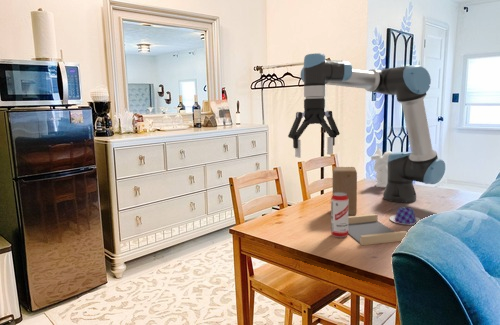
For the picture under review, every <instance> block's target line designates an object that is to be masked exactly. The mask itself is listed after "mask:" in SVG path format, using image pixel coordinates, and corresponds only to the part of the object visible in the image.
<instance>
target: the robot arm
mask: <svg viewBox="0 0 500 325" xmlns="http://www.w3.org/2000/svg"><path fill="white" fill-rule="evenodd" d="M300 79H301V81H302V82H303V97H304V99H303V108H304V110H303V112H301V111H297V112H295V118H294V120H293V124H292V126H291V128H290V131H289V132H288V135H287V137H288V138H289V139H292V140H293V142H292V143H293V144H292V147H293V149H294V150H295V151H294V153H295V155H294V157H295V158H299V159H300V158H302V157H301V155H302V154H301V151H302V150H301V145H302V144H301V143H302V142H301V139H300V137H301V136H302V134H303V133H304V132H305V131H306V129H307V128H308V126H309V125H315V124H319V125H320V126H321V127H322V129H323V130H324V131H325V133H326V134H327V135H328V136H327V138H326V139H327V140H326V141H327V143H326V144H327V145H326V146H327V147H326V148H327V149H326V150H327V152H326V154H327V155H330V156H333V155H334V146H335V145H336V144H335V142H336V139H335V138H337V136H339V135H340V134H341V133H340V130H339V128H338V126H337V123H336V122H335V119H334V117H333V111H332V110H326V111H325V108H326V99H325V97H326V86H325V85H327V86H328V85H329V86H336V87H337V86H339V87H346V88H347V87H348V88H356V89H363V90H364V89H365V90H366V91H367V92H371V93H378V94H384V95H389V96H396V101H397V102H398V103H400V104H401V106H402V113H403V116H404V120H405V121H404V122H405V126H406V131H407V136H408V142H409V146H410V150H411V151H401V152H393V153H392V154H390V155H389V156H388V180H387V185H386V187H384V188H385V189H384V191H383V197H382V198H383V199H384V200H385V201H388V202H393V203H394V202H395V203H411V202H415V201H417V193H416V190H415V187H414V186H415V185H414V181H415V182H416V183H417V182H418V183H423V184H425V185H436V184H438V183H439V182H440V181H441V180H442V179H443V177H444V175H445V172H446V163H445V161H444V160H443V159H441V158H439V157H438V153H437V151H436V150H434V149H433V147H432V145H433V144H432V139H431V135H430V129H429V123H428V118H427V113H426V112H427V111H426V108H425V102H424V99H425V98H426V96H427V92H428V91H429V90H430V87H431V86H430V85H431V80H432V79H431V76H430V73H429V71H428V70H427V68H426V67H424V66H422V65H419V64H418V65H416V64H415V65H414V64H413V65H404V66H399V67H398V66H396V67H390V68H383V69H375V68H374V69H373V68H372V69H369V70H362V69H356V68H353V65H352V64H351V62H349V61H346V60H343V59H342V60H329V59H328V60H327V59H326V55H325V54H324V53H319V52H318V53H308V54H306V55H304V58H303V67H302V69H301V70H300ZM324 117H326V120H327V121H326V120H325V118H324ZM303 118H304V119H303ZM302 119H303V121H302ZM327 122H328V123H327ZM300 124H301V125H300Z"/></svg>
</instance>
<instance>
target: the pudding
mask: <svg viewBox="0 0 500 325" xmlns="http://www.w3.org/2000/svg"><path fill="white" fill-rule="evenodd" d="M389 220H390V221H391V222H394V223H396V224H400V225H403V224H404V225H410V226H411V225H413V226H414V225H416V224H415V223H417V222H418V221H419V220H421V221H422V219H421V218H419V217H417V216H416V215H415V211H414V209H413V208H411V207H407V206H405V207H404V206H403V207H401V206H400V207H398V209H397V211H396V214H395V215H391V216H390V217H389Z"/></svg>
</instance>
